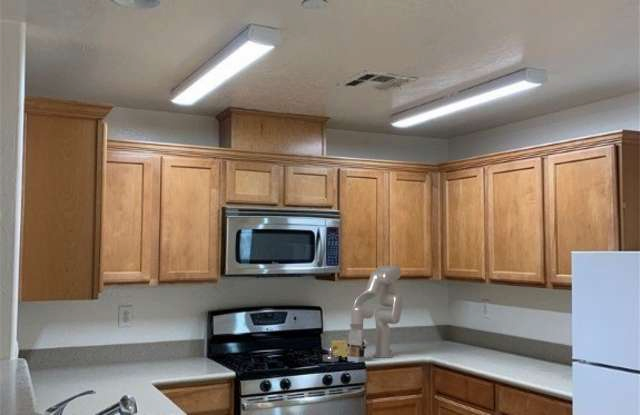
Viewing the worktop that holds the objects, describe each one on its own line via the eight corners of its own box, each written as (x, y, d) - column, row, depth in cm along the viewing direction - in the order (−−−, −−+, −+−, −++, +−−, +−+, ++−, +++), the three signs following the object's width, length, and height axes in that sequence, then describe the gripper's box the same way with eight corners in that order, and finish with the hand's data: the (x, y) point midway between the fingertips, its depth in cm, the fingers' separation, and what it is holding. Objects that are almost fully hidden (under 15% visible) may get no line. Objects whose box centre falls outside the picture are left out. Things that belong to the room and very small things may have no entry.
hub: (328, 358, 391) (329, 346, 392) (341, 360, 385) (342, 347, 386) (319, 360, 383) (319, 347, 384) (332, 362, 377) (332, 349, 378)
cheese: (347, 357, 399) (348, 342, 400) (331, 357, 399) (331, 341, 400) (347, 355, 409) (347, 340, 410) (331, 354, 410) (331, 339, 411)
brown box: (354, 355, 391) (355, 345, 392) (364, 356, 387) (364, 346, 388) (348, 356, 386) (348, 346, 386) (358, 357, 381) (358, 347, 382)
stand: (354, 359, 392) (354, 345, 392) (365, 361, 387) (365, 346, 388) (347, 361, 385) (347, 346, 386) (358, 362, 380) (358, 347, 381)
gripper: (342, 326, 390) (341, 354, 388) (365, 328, 380) (365, 357, 378) (348, 325, 396) (348, 353, 394) (372, 327, 386) (371, 356, 384)
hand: (356, 355), depth 386 cm, fingers closed on brown box, 7 cm apart
